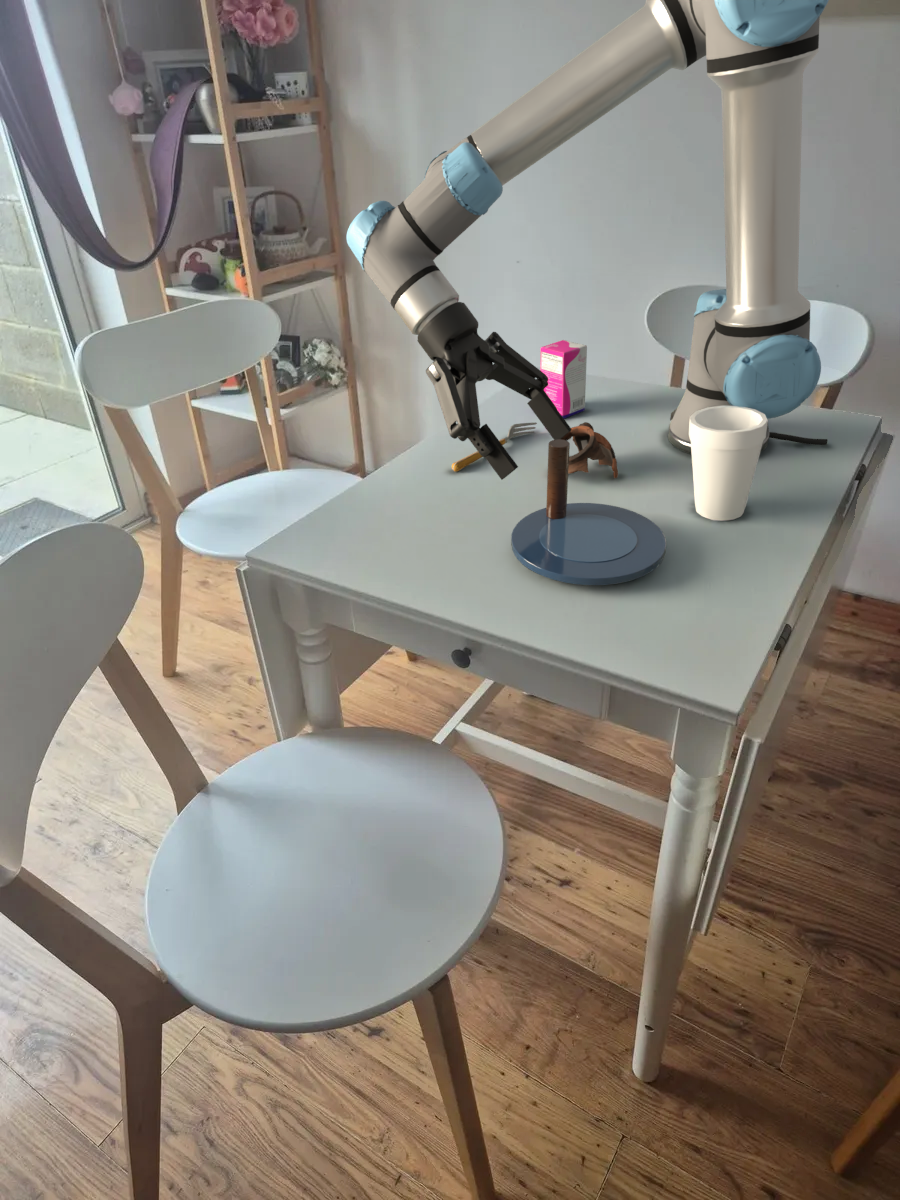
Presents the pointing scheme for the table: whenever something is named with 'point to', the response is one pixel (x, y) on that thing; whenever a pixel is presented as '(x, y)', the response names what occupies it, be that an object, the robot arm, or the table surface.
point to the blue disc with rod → (585, 535)
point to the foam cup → (725, 458)
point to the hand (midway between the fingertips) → (538, 454)
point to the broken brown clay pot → (590, 449)
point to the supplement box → (565, 375)
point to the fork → (511, 434)
